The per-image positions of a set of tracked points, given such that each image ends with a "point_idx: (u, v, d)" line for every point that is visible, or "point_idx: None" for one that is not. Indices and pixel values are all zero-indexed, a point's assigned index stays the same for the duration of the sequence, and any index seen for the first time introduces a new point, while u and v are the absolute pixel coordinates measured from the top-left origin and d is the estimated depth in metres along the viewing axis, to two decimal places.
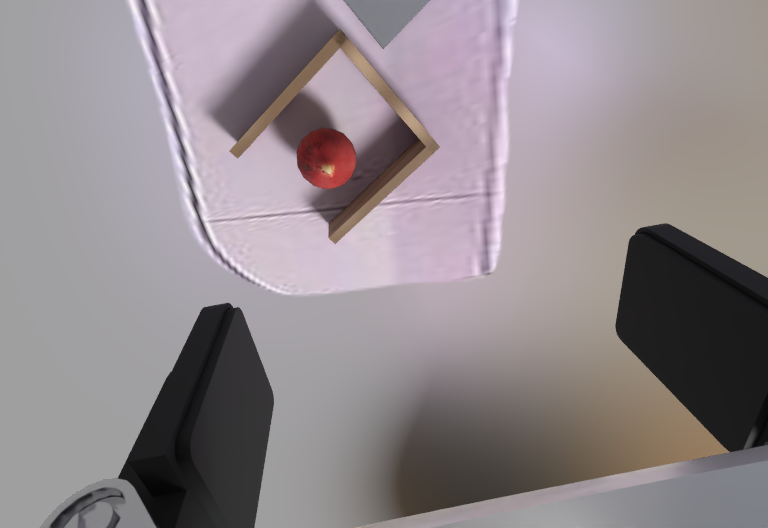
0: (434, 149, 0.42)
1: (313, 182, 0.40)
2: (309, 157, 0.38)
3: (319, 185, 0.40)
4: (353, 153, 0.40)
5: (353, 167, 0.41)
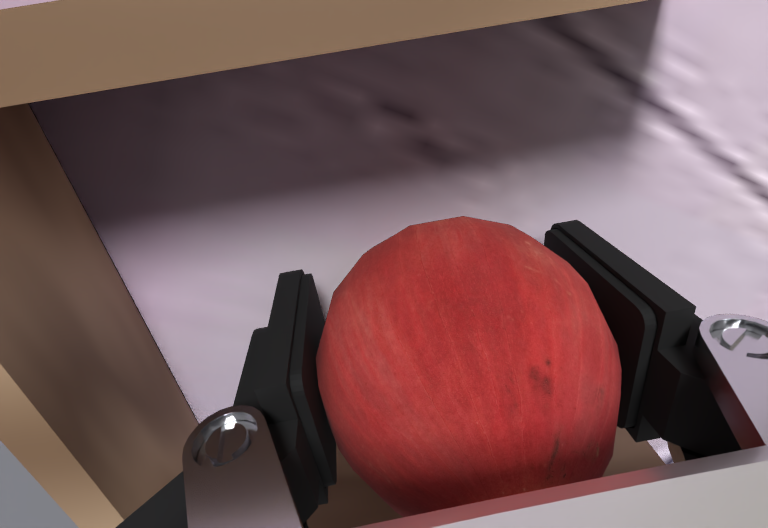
0: None
1: None
2: None
3: (614, 376, 0.06)
4: (332, 366, 0.07)
5: (378, 327, 0.06)
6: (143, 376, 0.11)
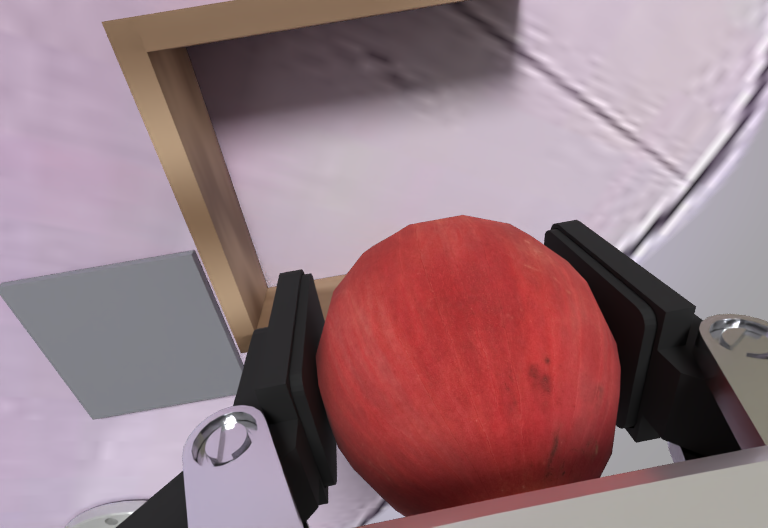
0: (122, 26, 0.13)
1: None
2: None
3: (613, 374, 0.07)
4: (332, 364, 0.07)
5: (378, 325, 0.06)
6: (234, 212, 0.20)
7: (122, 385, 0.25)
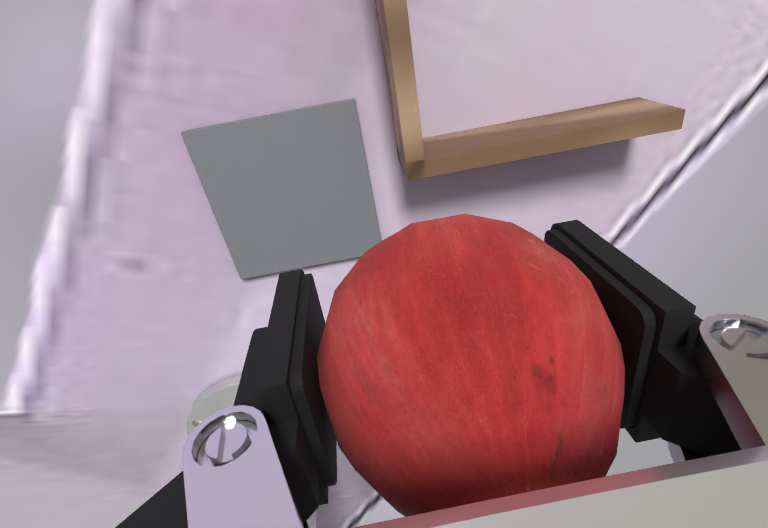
0: None
1: None
2: None
3: (617, 374, 0.06)
4: (334, 364, 0.07)
5: (380, 325, 0.06)
6: None
7: (273, 241, 0.27)
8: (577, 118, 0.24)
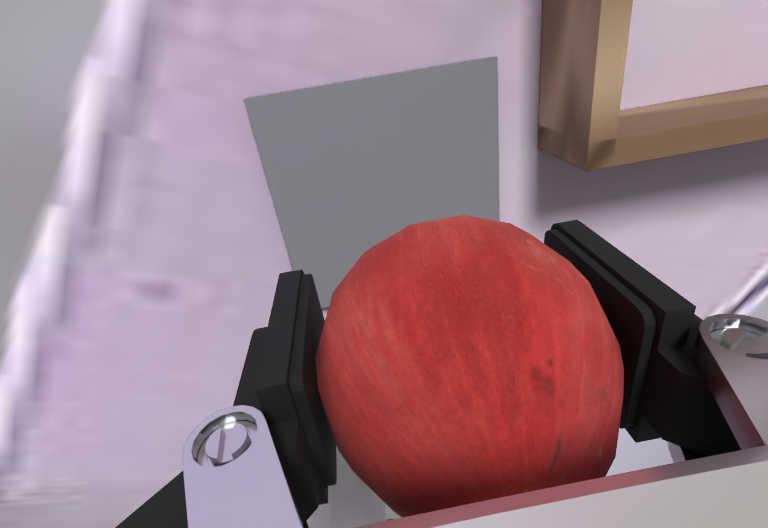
0: None
1: None
2: None
3: (616, 376, 0.06)
4: (331, 366, 0.07)
5: (378, 326, 0.06)
6: None
7: (355, 259, 0.20)
8: None
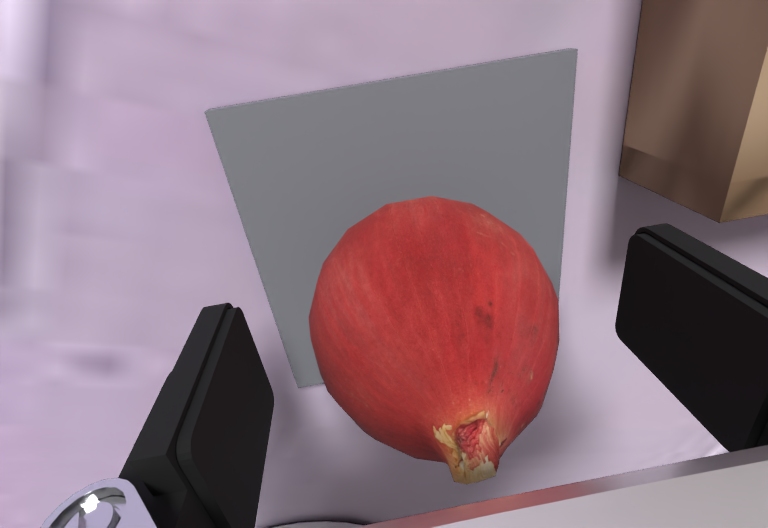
0: None
1: (556, 337, 0.08)
2: None
3: (549, 320, 0.08)
4: (321, 318, 0.09)
5: (357, 281, 0.08)
6: None
7: None
8: None
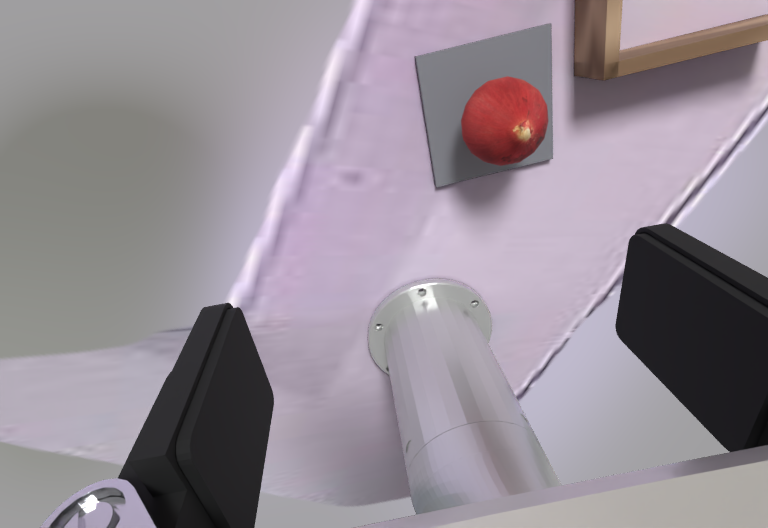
0: None
1: (546, 113, 0.27)
2: (527, 152, 0.28)
3: (543, 105, 0.27)
4: (472, 114, 0.28)
5: (485, 98, 0.27)
6: None
7: (468, 151, 0.34)
8: (726, 29, 0.30)
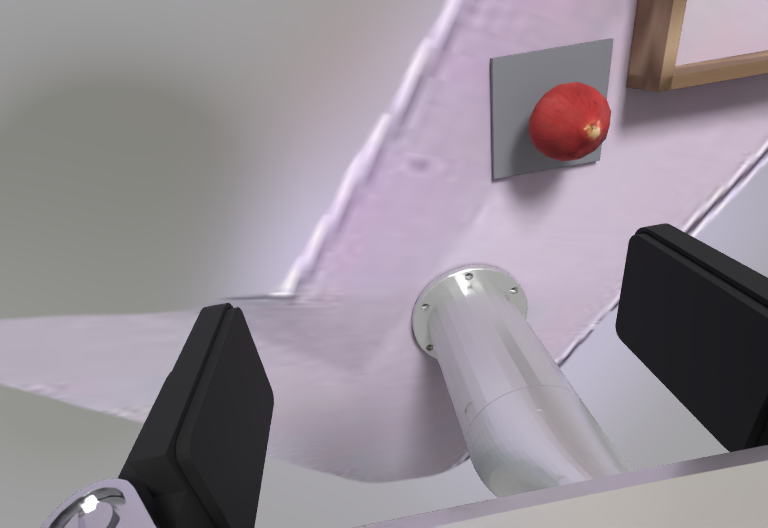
0: None
1: None
2: (591, 150, 0.31)
3: (609, 109, 0.30)
4: (544, 113, 0.31)
5: (559, 99, 0.30)
6: None
7: (526, 147, 0.37)
8: (763, 55, 0.34)
